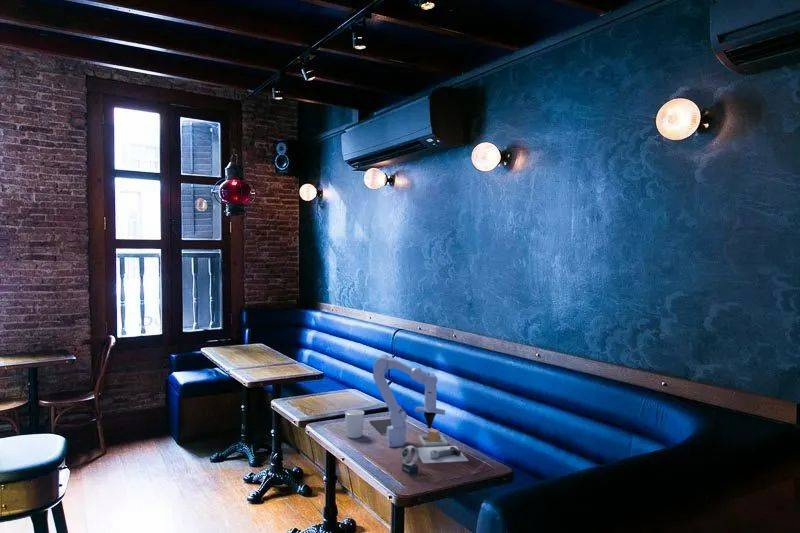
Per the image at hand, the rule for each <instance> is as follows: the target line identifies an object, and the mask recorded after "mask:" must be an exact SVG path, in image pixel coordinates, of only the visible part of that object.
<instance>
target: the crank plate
mask: <svg viewBox="0 0 800 533" xmlns="http://www.w3.org/2000/svg"><path fill="white" fill-rule="evenodd" d="M450 447H455V448H456V449H458V450H460V449H459V448H458V447H457V445H445V446H423V447H416V448H417V449H418V451H419V457H418V458H419V459H420V460H421V462H422V463H423V464H436V463H438V464H439V463H452V462H453V463H454V462H455V463H456V462H469V459H468V457H466V456H465V455H464V454H463V452H462V451H461V455H459V456H457V455H455V454H453V455H448V456H443V457H439V458H438V459H432V458H430V452H431V451H433V450H436V451H444V450H449V449H450ZM413 450H415V448H413Z"/></svg>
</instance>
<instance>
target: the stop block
mask: <svg viewBox="0 0 800 533" xmlns="http://www.w3.org/2000/svg"><path fill="white" fill-rule="evenodd" d="M427 433H428V434H427V435H428V438H427V443H429V442H440V438H439V434H440V430H439V429H433V428H430V430H428V432H427Z"/></svg>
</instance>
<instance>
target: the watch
mask: <svg viewBox="0 0 800 533" xmlns="http://www.w3.org/2000/svg"><path fill="white" fill-rule="evenodd" d="M414 448H415V449H414ZM417 448H418V447H415V446H414V445H408V446H406V447H404V448H403V449H402V450H401V453H400V456H401V458H400V459H401V460H402V461H401V462H402V465H401V466H402V467H401V471H402V472H403V473H405V474H407V475H409V476H412V475H413V476H414V475H416V474H418V473H419V465H418V464H416V463H417V461H418V459H419V458H420V457H419V451H418V449H417ZM413 449H414V451H415V452H414V454H413V457H412V459H411V461H408V460H409V458H410V457H411V456H412V451H413ZM407 461H408V462H407Z"/></svg>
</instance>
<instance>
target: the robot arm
mask: <svg viewBox="0 0 800 533" xmlns="http://www.w3.org/2000/svg"><path fill="white" fill-rule="evenodd" d="M372 367H373V370H372V377H373V380H374V382H375V384H376V386H377V388H378V390H379V392H380V394H381V396H382V398H383V400H384V402H385V405H386V407H387V408H388V411H389V412H388V413H389V417H390V419H391V424H392V425H391V426H387V435H386V440H385V442H386V444H387V446H388V447H389V448H390V447H391V448H393V447H402V446H404V445H405V444H407V423H406V421H407V418H408V414H407V412H406V411H405V410H404V409H403V408H402V406H401V405H399V404H398V402H397V399H396V397H395V395H394V393H393V390H392V389H391V387H390V386H389V383H388V381H387V379H386V377H385V374H386V372H387V370H390V369H395V370H399V371H401V372H404V373H406V374H407V375H409V376H410V378H411V380H414V381H416V382H418V383H420V384H424V387H425V388H424V404H423V405H424V406H416V407H415V409H414V412H416V413H417V412H420V413H423V417H424V420H425V421H426V425H427V429H432V426H433V422H434V419H435V417H436V415H437V414H438V415H442V416H445V415H446V410H445V409H441V408H438V407H437V392H438V391H437V384H438V377H437V376H436V375H435V374H434V373H430V372H429V371H428V372H427V371H425V370H422V368H421V367H414V368H413V367H410V366H409V365H408V364H406V363H403V362H402V361H400V360H398V359H396V358H394V357H392V356H390V355H388V354H381V355H380V356H379V357H378V358H377V359H375V361H374V363H373V366H372Z"/></svg>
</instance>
